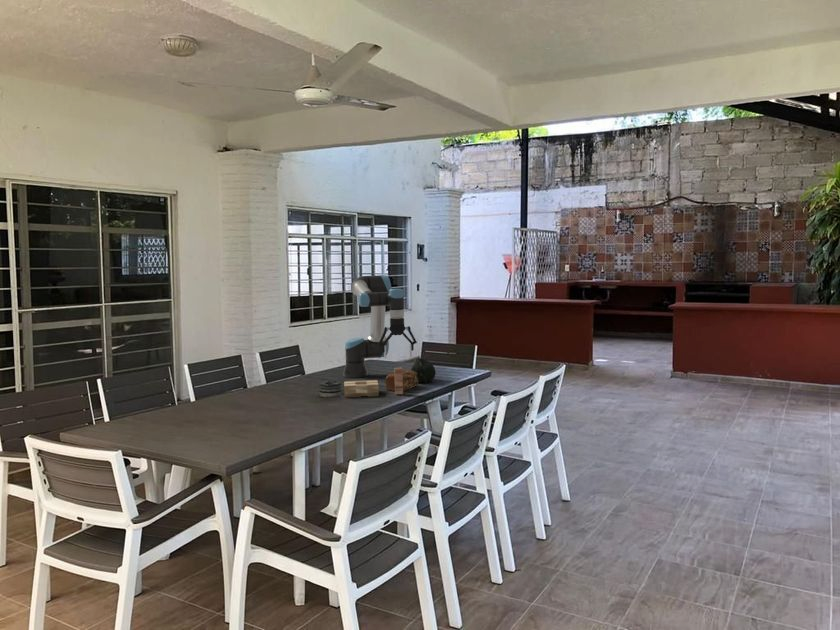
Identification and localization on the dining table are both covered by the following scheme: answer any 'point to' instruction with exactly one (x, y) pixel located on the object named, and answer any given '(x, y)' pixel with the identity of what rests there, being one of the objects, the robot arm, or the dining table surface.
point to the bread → (408, 380)
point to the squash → (424, 370)
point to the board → (361, 388)
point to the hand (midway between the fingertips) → (398, 357)
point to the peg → (398, 380)
